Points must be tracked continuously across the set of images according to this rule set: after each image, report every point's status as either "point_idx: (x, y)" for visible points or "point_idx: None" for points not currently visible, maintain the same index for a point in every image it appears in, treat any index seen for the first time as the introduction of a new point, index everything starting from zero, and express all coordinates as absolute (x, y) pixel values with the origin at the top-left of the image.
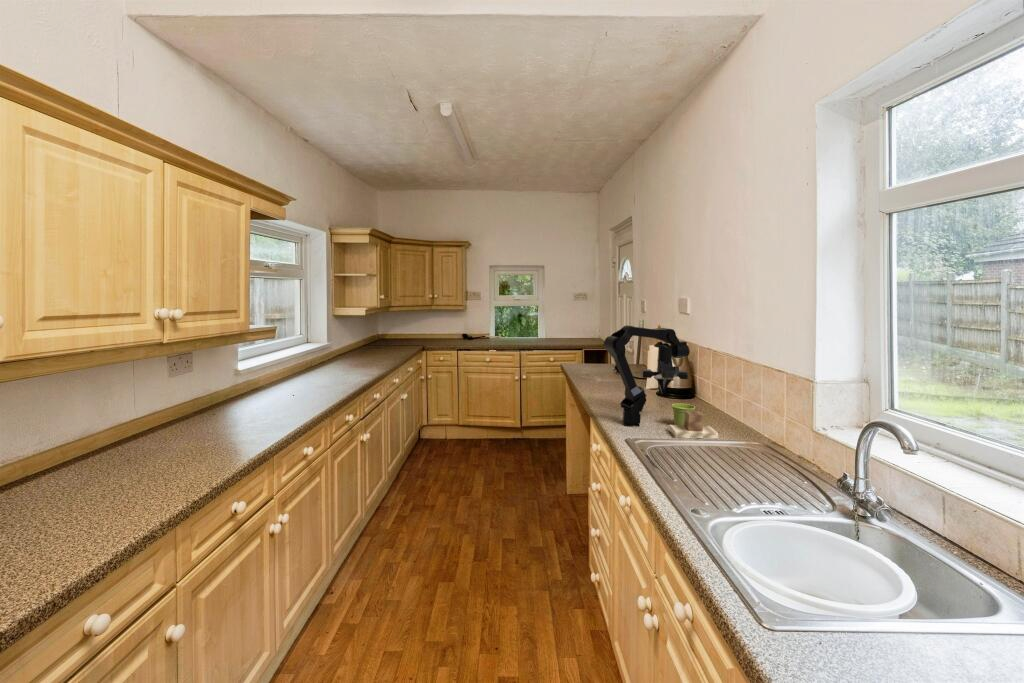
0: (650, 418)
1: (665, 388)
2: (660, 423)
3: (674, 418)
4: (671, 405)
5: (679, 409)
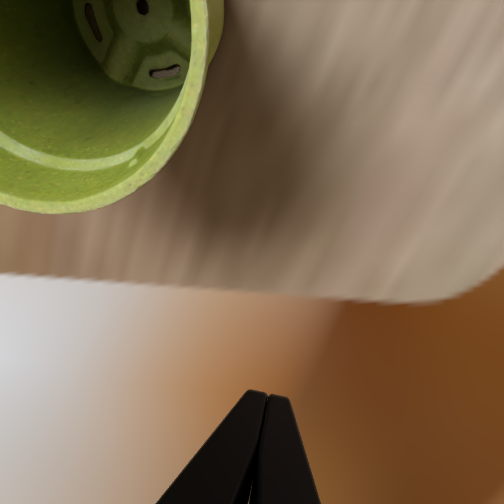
0: (367, 283)
1: (193, 499)
2: (345, 119)
3: (213, 8)
4: (203, 84)
5: None
